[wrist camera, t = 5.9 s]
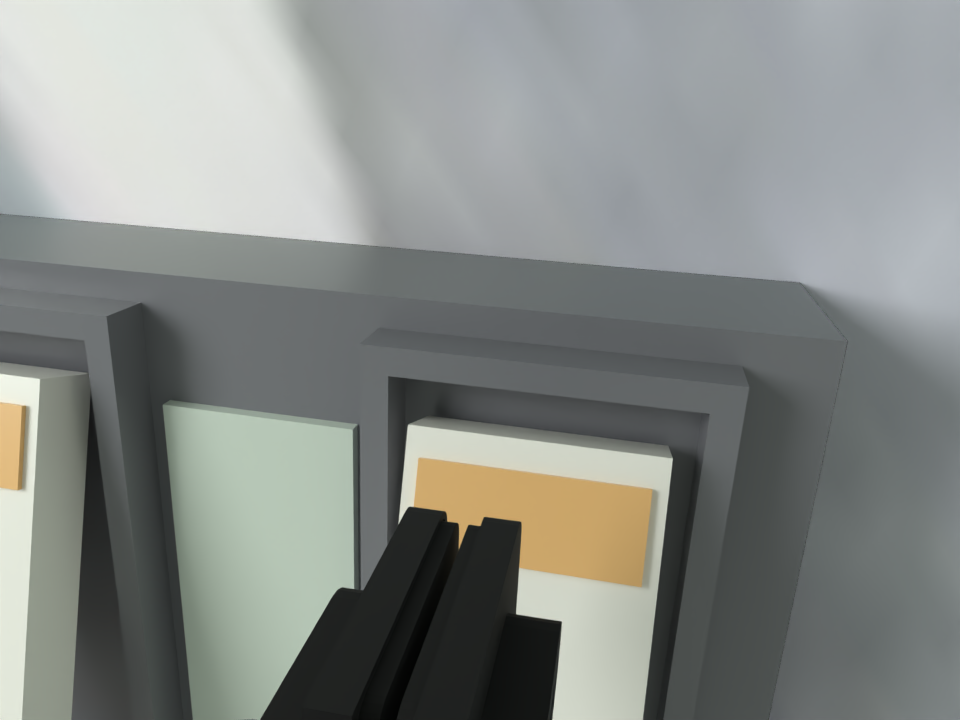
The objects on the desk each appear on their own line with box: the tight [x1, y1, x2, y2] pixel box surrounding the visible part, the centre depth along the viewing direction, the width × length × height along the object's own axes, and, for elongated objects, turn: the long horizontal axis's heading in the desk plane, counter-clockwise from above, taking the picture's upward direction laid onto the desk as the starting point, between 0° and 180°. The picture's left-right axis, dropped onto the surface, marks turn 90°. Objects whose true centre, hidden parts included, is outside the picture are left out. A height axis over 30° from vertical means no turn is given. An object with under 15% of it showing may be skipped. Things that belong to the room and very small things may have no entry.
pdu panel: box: [0, 214, 848, 720], centre depth 21 cm, size 16×28×6 cm, turn 87°
